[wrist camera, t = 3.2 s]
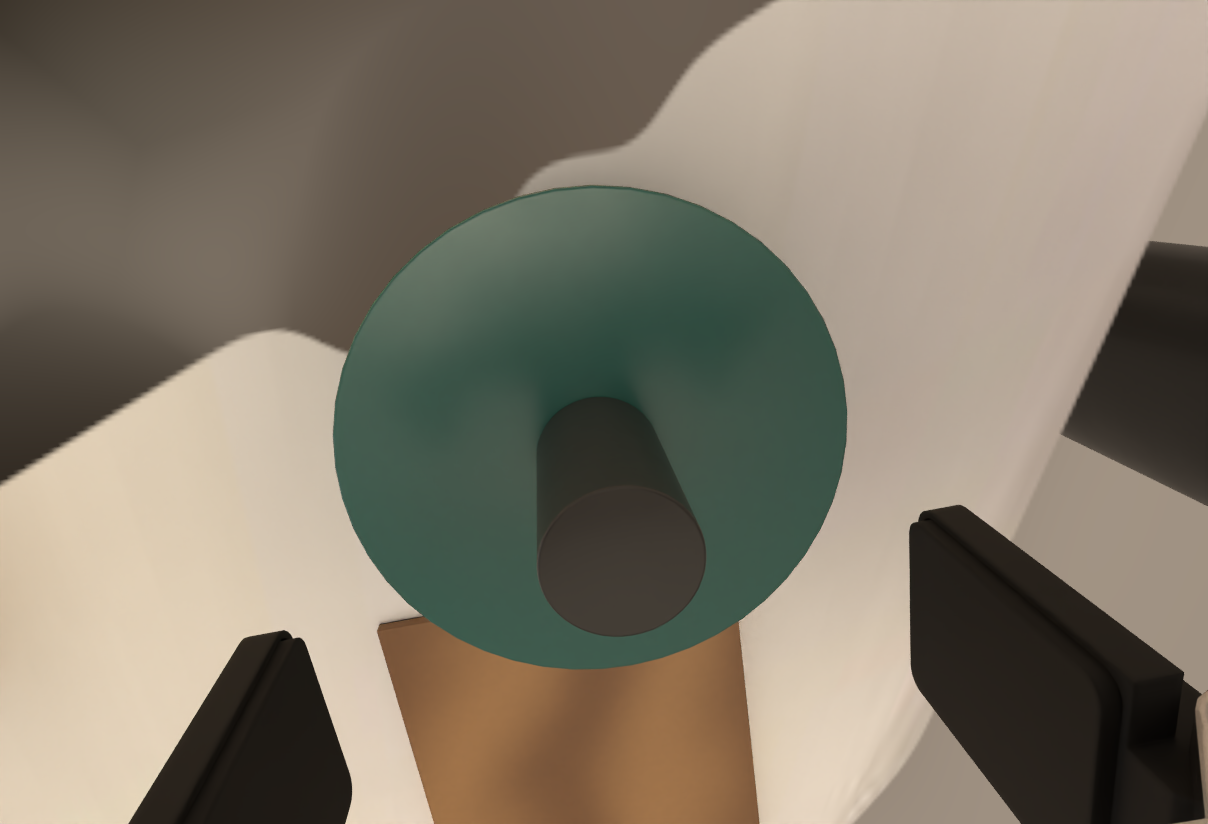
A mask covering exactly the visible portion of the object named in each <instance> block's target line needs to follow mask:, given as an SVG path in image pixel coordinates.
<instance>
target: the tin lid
mask: <svg viewBox="0 0 1208 824" xmlns="http://www.w3.org/2000/svg"><path fill="white" fill-rule="evenodd" d="M846 433H847V406H846V397H845V388H844V379H843V375H842V371H841V367H840V364H839V360H838V356H837V352H836V348H835V346H834V343H833V341H832V339H831V336H830V334H829V331H828V329H827V327H826V324H825V322H824V319H823V318H822V316H821V314H820V312H819V311H818V309H817V307H816V306H815V304H814V302H813V301H812V299H811V297H810V296H809V294H808V292H807V291H806V289H805V288H804V287H803V286H802V284H801V283H800V282H799V281H798V279H797V278H796V277H795V276H794V274H793V273H792V272H791V271H790V269H789V268H788V267H787V266H786V265H785V264H784V263H783V262H782V261H781V260H780V259H779V258H778V257H777V256H776V255H775V254H774V253H773V252H771V251H770V250H769V249H768V248H767V247H766V246H765V245H764V244H763V243H762V242H761V241H759V240H758V239H756V238H755V237H754V236H752V235H751V234H749V233H748V232H746V231H745V230H743V229H742V228H741V227H739V226H738V225H736V224H735V223H733V222H732V221H730V220H728V219H726V218H724V217H722V216H720V215H718V214H716V213H714V212H712V211H710V210H708V209H706V208H704V207H702V206H700V205H697V204H694V203H691V202H688V201H685V200H682V199H679V198H677V197H674V196H671V195H668V194H664V193H659V192H653V191H648V190H643V189H637V188H632V187H622V186H601V185H585V186H573V187H562V188H553V189H548V190H544V191H540V192H535V193H531V194H527V195H522V196H518V197H515V198H513V199H510V200H508V201H505V202H503V203H500V204H497V205H495V206H492V207H489V208H487V209H484V210H482V211H480V212H478V213H476V214H475V215H473V216H471V217H469V218H468V219H466V220H464V221H462V222H460V223H458V224H456V225H455V226H453V227H451V228H449V229H448V230H447V231H445V232H444V233H443V234H441V235H440V236H439V237H437V238H436V239H435V240H433V241H432V242H430V243H429V244H428V245H426V246H425V247H424V248H422V249H421V250H420V251H419V252H418V253H417V254H416V255H415V256H414V257H413V258H412V259H411V260H410V261H409V262H408V263H407V264H406V265H405V266H404V267H403V268H402V269H401V270H400V271H399V272H398V273H397V274H395V275H394V276H393V278H392V279H391V281H390V282H389V283H388V284H387V286H386V287H385V288H384V290H383V291H382V292H381V294H380V295H379V296H378V298H377V299H376V300H375V302H374V303H373V304H372V306H371V307H370V310H369V311H368V313H367V315H366V316H365V318H364V320H363V322H362V324H361V326H360V327H359V329H358V331H357V333H356V335H355V337H354V339H353V342H352V345H351V347H350V350H349V352H348V355H347V358H346V360H345V363H344V366H343V368H342V373H341V377H340V382H339V386H338V391H337V396H336V400H335V411H334V425H333V443H334V457H335V468H336V473H337V477H338V482H339V486H340V491H341V495H342V499H343V502H344V505H345V507H346V510H347V513H348V515H349V518H350V521H351V523H352V526H353V529H354V530H355V532H356V534H357V536H358V538H359V540H360V542H361V543H362V545H363V547H364V549H365V551H366V553H367V555H368V556H369V558H370V559H371V560H372V562H373V563H374V564H375V566H376V567H377V569H378V570H379V571H380V573H381V574H382V575H383V577H384V578H385V580H386V581H387V582H388V583H389V584H390V585H391V586H392V587H393V588H394V589H395V590H396V591H397V592H398V593H399V595H400V596H401V597H402V598H403V599H404V600H405V601H406V602H407V603H408V604H409V605H411V606H412V607H413V608H414V609H416V610H417V611H418V612H419V613H420V614H422V615H423V616H424V617H425V618H427V619H428V620H429V621H430V622H432V623H433V624H435V625H436V626H438V627H440V628H441V629H443V630H444V631H446V632H448V633H449V634H451V635H452V636H454V637H456V638H457V639H460V640H462V641H464V642H466V643H468V644H470V645H472V646H475V647H477V648H479V649H481V650H483V651H485V652H489V653H492V654H495V655H498V656H501V657H504V658H507V659H510V660H513V661H517V662H522V663H527V664H532V665H536V666H541V667H550V668H561V669H572V670H578V669H607V668H615V667H623V666H630V665H636V664H640V663H644V662H648V661H652V660H656V659H660V658H664V657H666V656H669V655H672V654H675V653H677V652H680V651H683V650H686V649H689V648H691V647H693V646H695V645H697V644H699V643H701V642H703V641H705V640H707V639H709V638H711V637H713V636H715V635H717V634H719V633H721V632H722V631H724V630H725V629H727V628H728V627H730V626H732V625H733V624H735V623H736V622H738V621H739V620H741V619H743V618H744V617H745V616H746V615H747V614H749V613H750V612H751V611H752V610H754V609H755V608H756V607H757V606H759V605H760V604H761V603H762V602H764V601H765V600H766V599H767V598H768V597H769V596H770V595H771V594H772V593H773V592H774V591H775V590H776V589H777V588H778V587H779V586H780V585H781V584H782V583H783V582H784V581H785V580H786V579H787V577H788V576H789V575H790V574H791V572H792V571H793V570H794V568H795V567H796V566H797V565H798V563H799V562H800V561H801V559H802V558H803V557H804V555H805V554H806V552H807V551H808V549H809V547H810V546H811V544H812V542H813V541H814V539H815V537H816V536H817V534H818V532H819V531H820V529H821V527H822V525H823V522H824V520H825V518H826V516H827V513H828V511H829V509H830V506H831V504H832V502H833V499H834V496H835V492H836V489H837V485H838V482H839V479H840V475H841V472H842V466H843V459H844V453H845V447H846Z"/></svg>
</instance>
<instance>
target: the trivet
mask: <svg viewBox="0 0 1208 824" xmlns="http://www.w3.org/2000/svg"><path fill="white" fill-rule="evenodd" d="M377 633H378V636H379V640H380V643H381V646H382V650H383V653H384V657H385V660H386V663H387V667H388V670H389V673H390V677H391V680H392V683H393V687H394V690H395V693H396V697H397V700H398V704H399V707H400V710H401V714H402V717H403V720H404V724H405V727H406V730H407V734H408V737H409V740H410V744H411V747H412V751H413V754H414V757H415V761H416V764H417V767H418V771H419V774H420V777H421V781H422V784H423V787H424V791H425V794H426V798H427V801H428V804H429V808H430V811H431V814H432V818H433V821H434V824H759V815H758V805H757V796H756V786H755V776H754V767H753V757H752V748H751V738H750V728H749V719H748V709H747V700H746V690H745V680H744V671H743V661H742V652H741V642H740V633H739V623H738V622H736V623H735V624H733V625H732V626H730V627H728V628H727V629H725V630H724V631H722V632H721V633H719V634H717V635H715V636H713V637H711V638H709V639H707V640H705V641H703V642H701V643H699V644H697V645H695V646H693V647H691V648H689V649H686V650H683V651H680V652H677V653H675V654H672V655H669V656H666V657H664V658H660V659H656V660H652V661H648V662H644V663H640V664H636V665H630V666H623V667H615V668H607V669H578V670H572V669H561V668H550V667H541V666H536V665H532V664H527V663H522V662H517V661H513V660H510V659H507V658H504V657H501V656H498V655H495V654H492V653H489V652H485V651H483V650H481V649H479V648H477V647H475V646H472V645H470V644H468V643H466V642H464V641H462V640H460V639H457V638H456V637H454V636H452V635H451V634H449V633H448V632H446V631H444V630H443V629H441V628H440V627H438V626H436V625H435V624H433V623H432V622H430V621H429V620H428V619H427V618H425V617H420V618H414V619H409V620H403V621H398V622H392V623H387V624H381V625H379V627H378V630H377Z"/></svg>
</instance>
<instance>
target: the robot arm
mask: <svg viewBox="0 0 1208 824" xmlns="http://www.w3.org/2000/svg"><path fill="white" fill-rule="evenodd" d="M909 553H910V644H911V670H912V675H913V678H914V681H915V683H916V685H917V687H918V689H919V690H920V692H921V693H922V694H923V696H924V697H925V698H926V700H927V701H928V702H929V704H930V705H931V706H932V707H933V709H934V710H935V711H936V713H937V714H938V715H939V717H940V718H941V719H942V721H943V722H944V723H945V725H946V726H947V727H948V728H949V730H950V731H951V732H952V734H953V735H954V736H955V738H956V739H957V740H958V741H959V743H960V744H961V745H962V747H963V748H964V749H965V751H966V752H967V753H968V755H969V756H970V757H971V758H972V760H973V761H974V762H975V764H976V765H977V766H978V768H979V769H980V770H981V772H982V773H983V774H984V775H985V777H986V778H987V779H988V781H989V782H990V783H991V785H992V786H993V787H994V789H995V790H996V791H997V793H998V794H999V795H1000V797H1001V798H1002V799H1003V800H1004V802H1005V803H1006V804H1007V806H1008V807H1009V808H1010V810H1011V811H1012V812H1013V814H1014V815H1015V816H1016V818H1017V819H1018V820H1019V821H1020V823H1021V824H1208V690H1207V691H1206V692H1205V693H1203V694H1201V693H1199V692H1198V691H1197V690H1196V689H1194V688H1193V687H1192V686H1190V685H1189V684H1188V683H1186V682H1185V681H1184V680H1183V677H1184V672H1183V671H1182V670H1180V669H1179V668H1178V667H1176V666H1175V665H1174V664H1172V663H1171V662H1170V661H1168V660H1167V659H1166V658H1164V657H1163V656H1162V655H1161V654H1159V653H1158V652H1157V651H1155V650H1154V649H1153V648H1151V647H1150V646H1149V645H1147V644H1146V643H1145V642H1143V641H1142V640H1141V639H1139V638H1138V637H1137V636H1135V635H1134V634H1133V633H1131V632H1130V631H1129V630H1127V629H1126V628H1125V627H1123V626H1122V625H1121V624H1119V623H1118V622H1117V621H1115V620H1114V619H1113V618H1111V617H1110V616H1109V615H1108V614H1106V613H1105V612H1104V611H1102V610H1101V609H1099V608H1098V607H1097V606H1096V605H1094V604H1093V603H1091V602H1090V601H1089V600H1088V599H1086V598H1085V597H1084V596H1082V595H1081V594H1080V593H1078V592H1077V591H1076V590H1074V589H1073V588H1072V587H1070V586H1069V585H1068V584H1066V583H1065V582H1064V581H1062V580H1061V579H1060V578H1058V577H1057V576H1056V575H1054V574H1053V573H1052V572H1051V571H1049V570H1048V569H1046V568H1045V567H1044V566H1043V565H1041V564H1040V563H1038V562H1037V561H1036V560H1035V559H1033V558H1032V557H1031V556H1029V555H1028V554H1027V553H1025V552H1024V551H1023V550H1021V549H1020V548H1019V547H1017V546H1016V545H1015V544H1013V543H1012V542H1011V541H1009V540H1008V539H1007V538H1005V537H1004V536H1003V535H1002V534H1000V533H999V532H998V531H996V530H995V529H994V528H992V527H991V526H990V525H988V524H987V523H986V522H984V521H983V520H982V519H980V518H979V517H978V516H976V515H975V514H974V513H972V512H971V511H970V510H968V509H967V508H966V507H964V506H962V505H955V506H950V507H944V508H939V509H933V510H928V511H923V512H922V513H921V514H920V517H919V520H918V522H915V523H913V524H911V526H910V531H909ZM351 800H352V782H351V777H350V773H349V770H348V767H347V764H346V761H345V759H344V756H343V753H342V750H341V747H340V744H339V741H338V738H337V735H336V732H335V729H334V726H333V723H332V720H331V717H330V714H329V712H328V709H327V706H326V703H325V700H324V697H323V694H322V691H321V688H320V685H319V682H318V679H317V676H316V673H315V670H314V667H313V664H312V662H311V659H310V656H309V653H308V650H307V647H306V645H305V642H304V641H303V640H302V639H301V638H294V639H293V638H292V636H291V635H290V634H289V632H287V631H285V630H283V631H278V632H272V633H267V634H261V635H256V636H251V637H247V638H244V639H243V640H242V641H241V642H240V644H239V645H238V647H237V648H236V650H235V652H234V653H233V655H232V657H231V658H230V660H229V661H228V663H227V665H226V666H225V668H224V670H223V671H222V673H221V674H220V676H219V678H218V679H217V681H216V683H215V684H214V686H213V687H212V689H211V691H210V692H209V694H208V696H207V697H206V699H205V700H204V702H203V704H202V705H201V707H200V709H199V710H198V712H197V713H196V715H195V717H194V718H193V720H192V721H191V723H190V725H189V726H188V728H187V730H186V731H185V733H184V734H183V736H182V738H181V739H180V741H179V743H178V744H177V746H176V747H175V749H174V751H173V752H172V754H171V756H170V757H169V759H168V760H167V762H166V764H165V765H164V767H163V769H162V770H161V772H160V773H159V775H158V777H157V778H156V780H155V782H154V783H153V785H152V786H151V788H150V790H149V791H148V793H147V795H146V796H145V798H144V799H143V801H142V803H141V804H140V806H139V807H138V809H137V811H136V812H135V814H134V816H133V817H132V819H131V820H130V822H129V824H345V822H346V819H347V815H348V812H349V808H350V805H351Z"/></svg>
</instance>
